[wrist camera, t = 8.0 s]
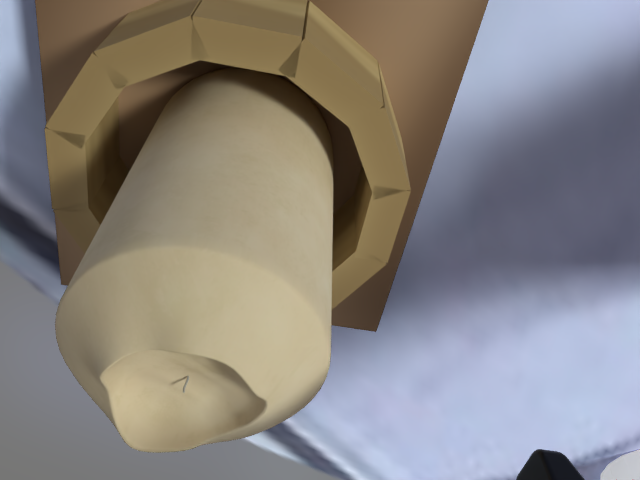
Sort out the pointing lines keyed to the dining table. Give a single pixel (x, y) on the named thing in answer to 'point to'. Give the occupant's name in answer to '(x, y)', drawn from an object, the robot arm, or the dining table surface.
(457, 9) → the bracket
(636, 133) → the dining table surface
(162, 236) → the candle
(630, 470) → the beverage cup
